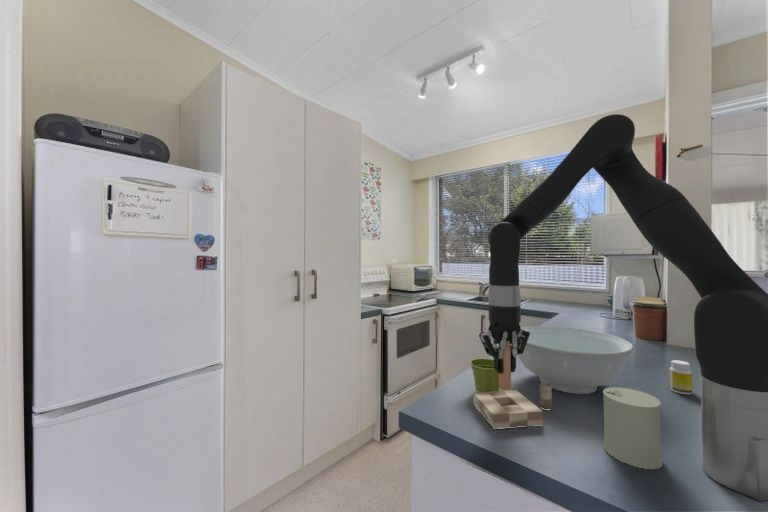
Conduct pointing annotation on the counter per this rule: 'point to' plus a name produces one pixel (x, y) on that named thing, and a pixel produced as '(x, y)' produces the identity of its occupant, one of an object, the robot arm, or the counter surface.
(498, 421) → the socket block
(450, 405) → the counter surface
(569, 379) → the bowl
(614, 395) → the can
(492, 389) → the plant pot
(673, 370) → the supplement bottle
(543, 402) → the short dowel
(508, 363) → the long dowel
